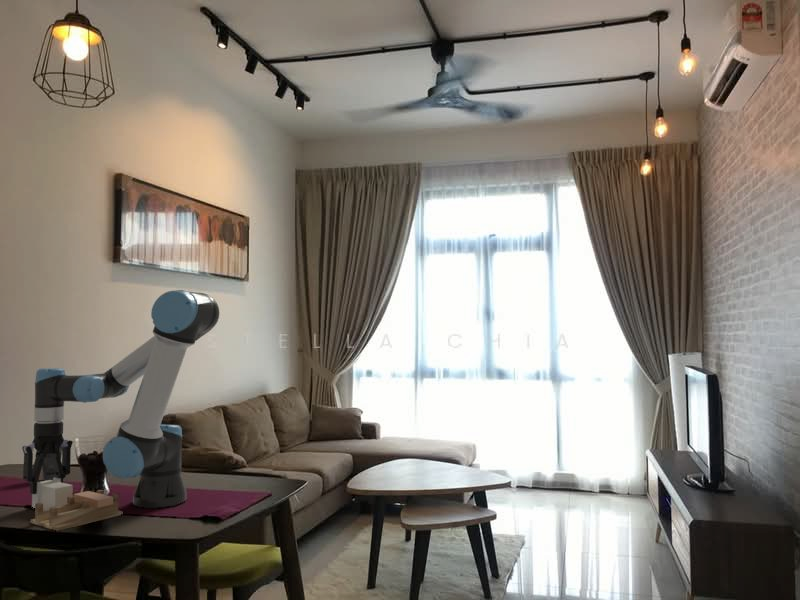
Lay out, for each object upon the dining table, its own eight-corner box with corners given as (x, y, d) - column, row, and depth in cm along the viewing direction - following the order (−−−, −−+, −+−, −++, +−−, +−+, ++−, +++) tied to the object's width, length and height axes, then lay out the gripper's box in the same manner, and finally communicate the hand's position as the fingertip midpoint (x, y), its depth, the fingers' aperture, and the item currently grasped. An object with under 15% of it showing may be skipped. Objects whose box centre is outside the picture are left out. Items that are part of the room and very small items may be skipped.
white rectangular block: (72, 510, 183) (72, 485, 183) (54, 514, 179) (55, 488, 179) (49, 504, 190) (50, 479, 190) (31, 507, 185) (32, 483, 186)
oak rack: (122, 514, 179) (123, 495, 180) (57, 531, 164) (57, 509, 164) (95, 507, 187) (96, 488, 187) (30, 522, 171) (31, 502, 171)
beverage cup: (48, 477, 225) (50, 419, 226) (67, 477, 224) (69, 419, 225) (33, 481, 218) (35, 422, 219) (53, 482, 217) (55, 422, 218)
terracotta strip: (113, 504, 178) (113, 496, 178) (98, 507, 174) (98, 500, 174) (88, 498, 184) (88, 490, 184) (73, 501, 180) (73, 494, 181)
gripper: (71, 417, 197) (69, 494, 196) (9, 424, 182) (6, 507, 180) (85, 419, 193) (83, 498, 191) (23, 426, 178) (20, 511, 176)
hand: (46, 502), depth 186 cm, fingers closed on white rectangular block, 5 cm apart
